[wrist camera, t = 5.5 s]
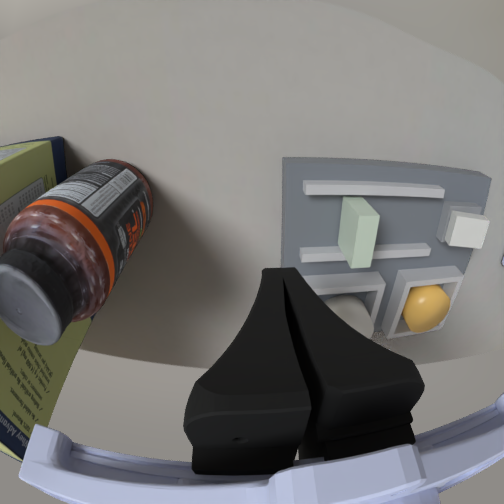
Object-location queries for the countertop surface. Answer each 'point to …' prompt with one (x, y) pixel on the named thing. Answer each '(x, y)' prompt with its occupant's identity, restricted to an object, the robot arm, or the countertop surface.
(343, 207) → the sage paddle
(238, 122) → the countertop surface
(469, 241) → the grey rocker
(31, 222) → the supplement bottle
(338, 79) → the countertop surface
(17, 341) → the protein box
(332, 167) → the switch panel
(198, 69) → the countertop surface
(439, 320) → the amber button
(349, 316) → the white button
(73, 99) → the countertop surface
